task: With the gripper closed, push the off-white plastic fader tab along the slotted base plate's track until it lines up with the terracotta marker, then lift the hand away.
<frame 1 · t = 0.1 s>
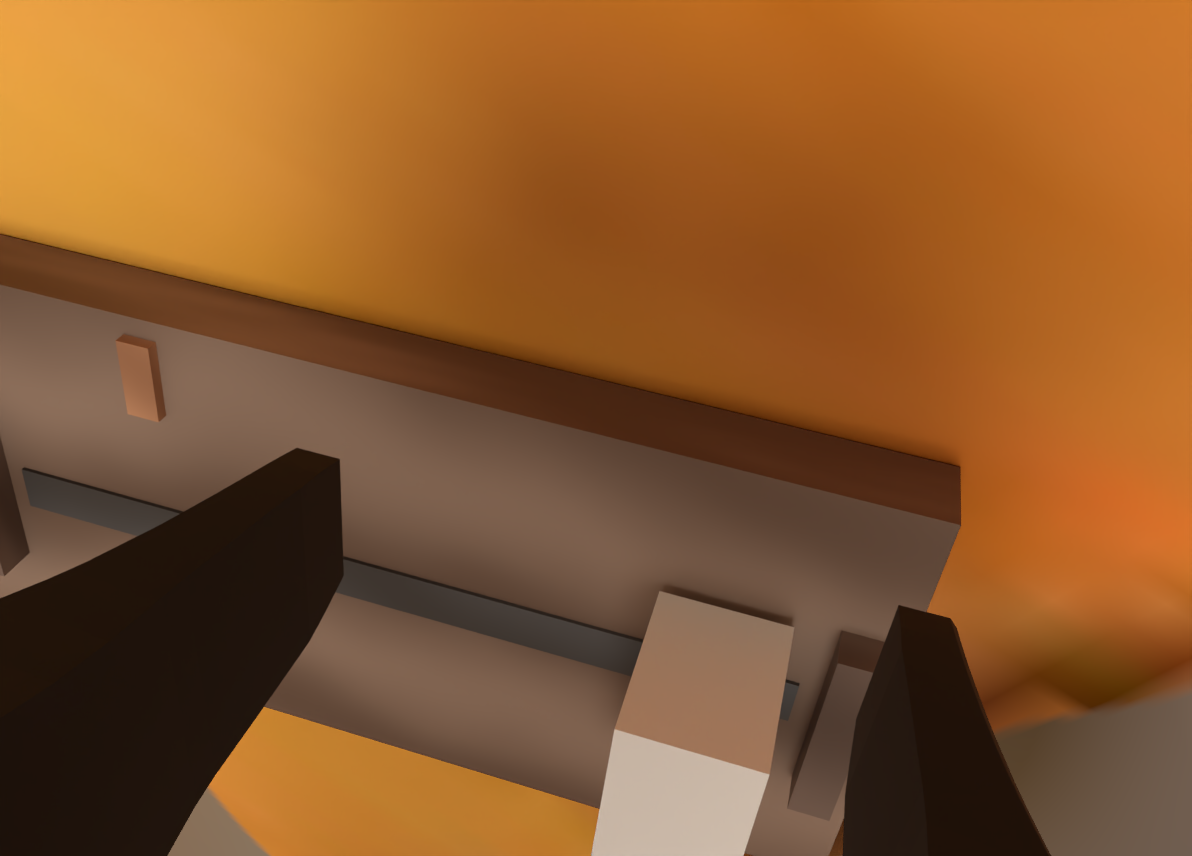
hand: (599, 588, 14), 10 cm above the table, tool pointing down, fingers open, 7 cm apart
fader tab: (690, 753, 24), point 4 cm above the table, slide at 0.0 cm
slotted base plate: (421, 536, 28), on the table
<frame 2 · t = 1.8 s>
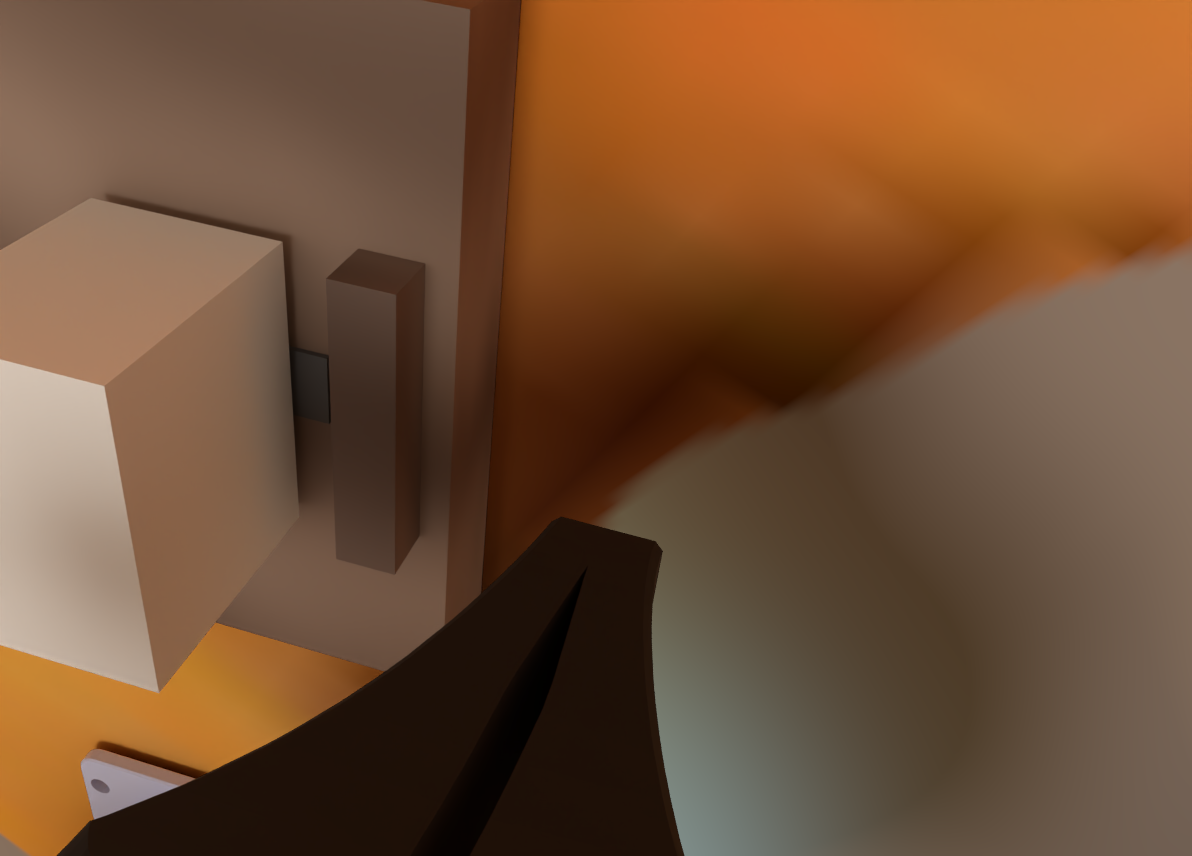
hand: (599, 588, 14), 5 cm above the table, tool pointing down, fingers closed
fader tab: (123, 438, 15), point 4 cm above the table, slide at 0.0 cm
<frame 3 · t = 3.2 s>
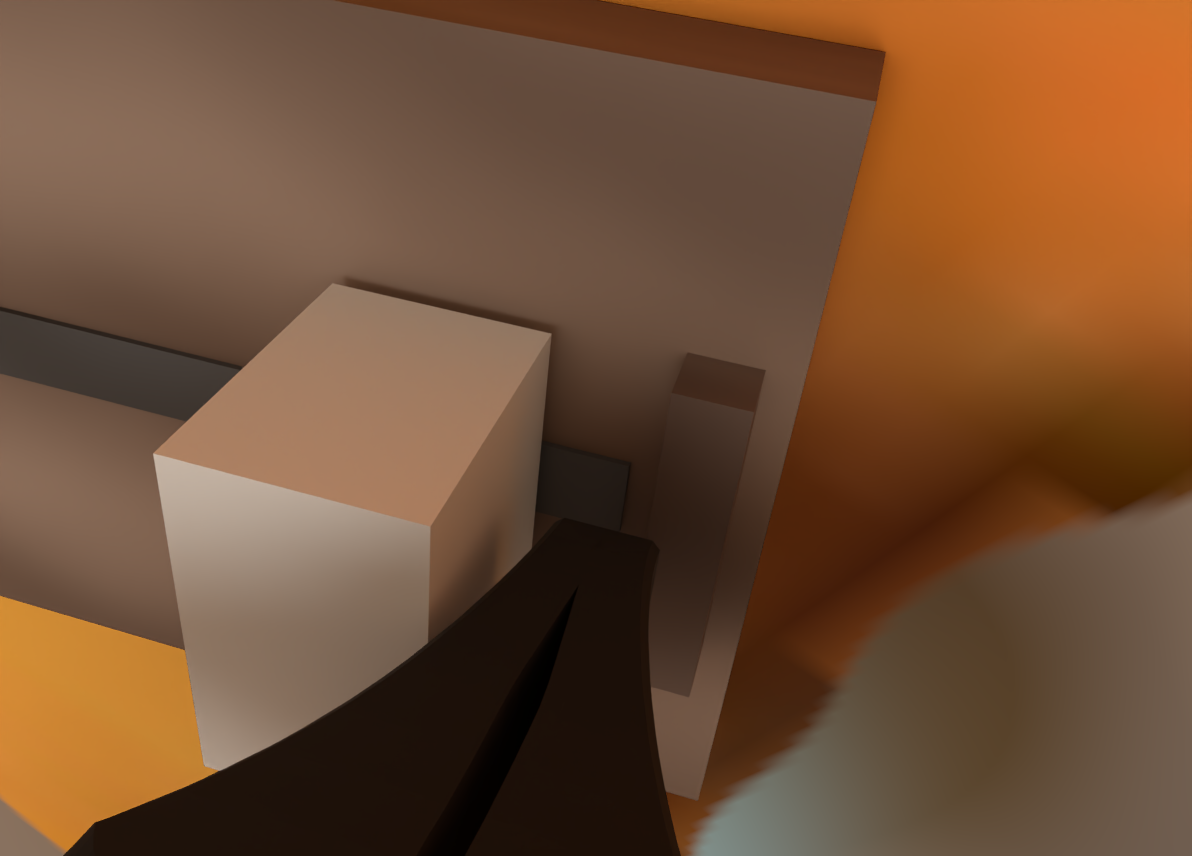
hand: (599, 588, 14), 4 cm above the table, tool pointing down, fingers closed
fader tab: (376, 550, 14), point 4 cm above the table, slide at 0.7 cm, touching gripper
slotted base plate: (83, 283, 18), on the table
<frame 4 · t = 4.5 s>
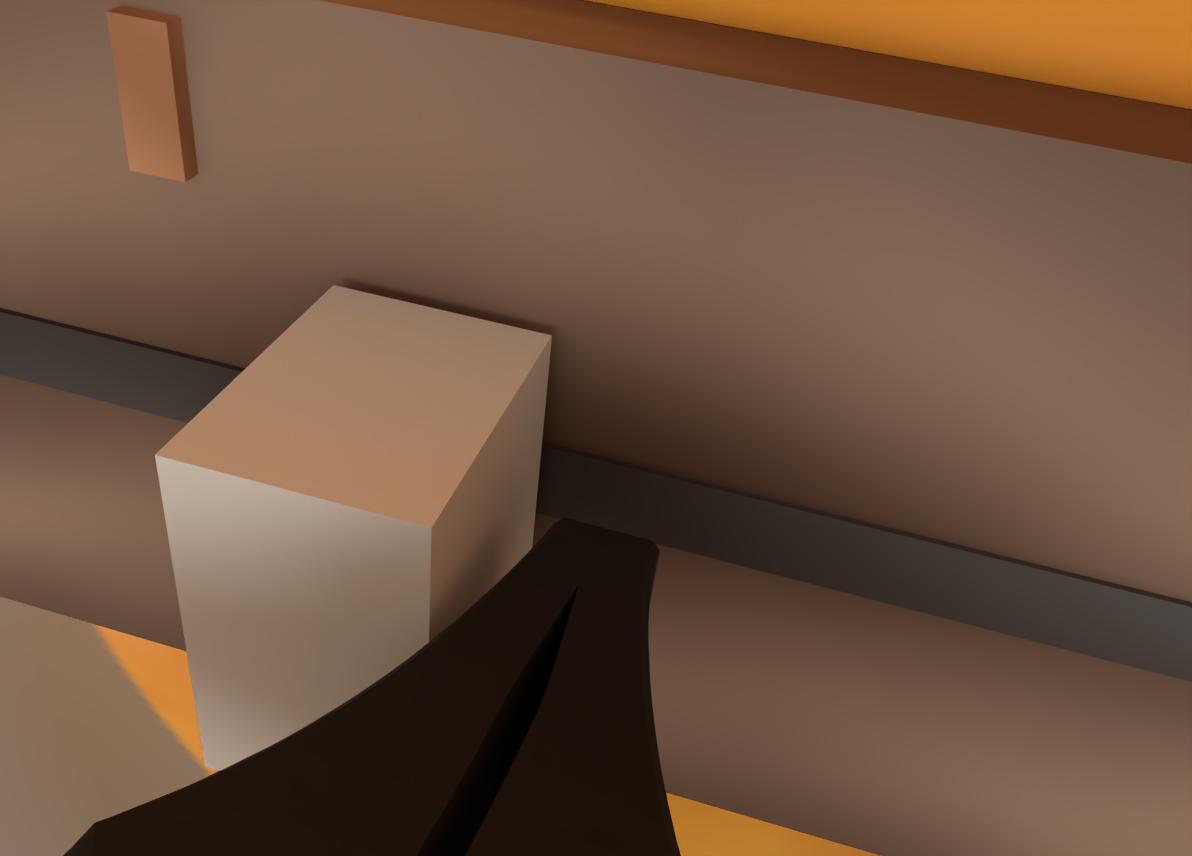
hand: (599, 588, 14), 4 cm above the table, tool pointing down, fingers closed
fader tab: (377, 552, 14), point 4 cm above the table, slide at 10.1 cm, touching gripper
slotted base plate: (617, 412, 17), on the table
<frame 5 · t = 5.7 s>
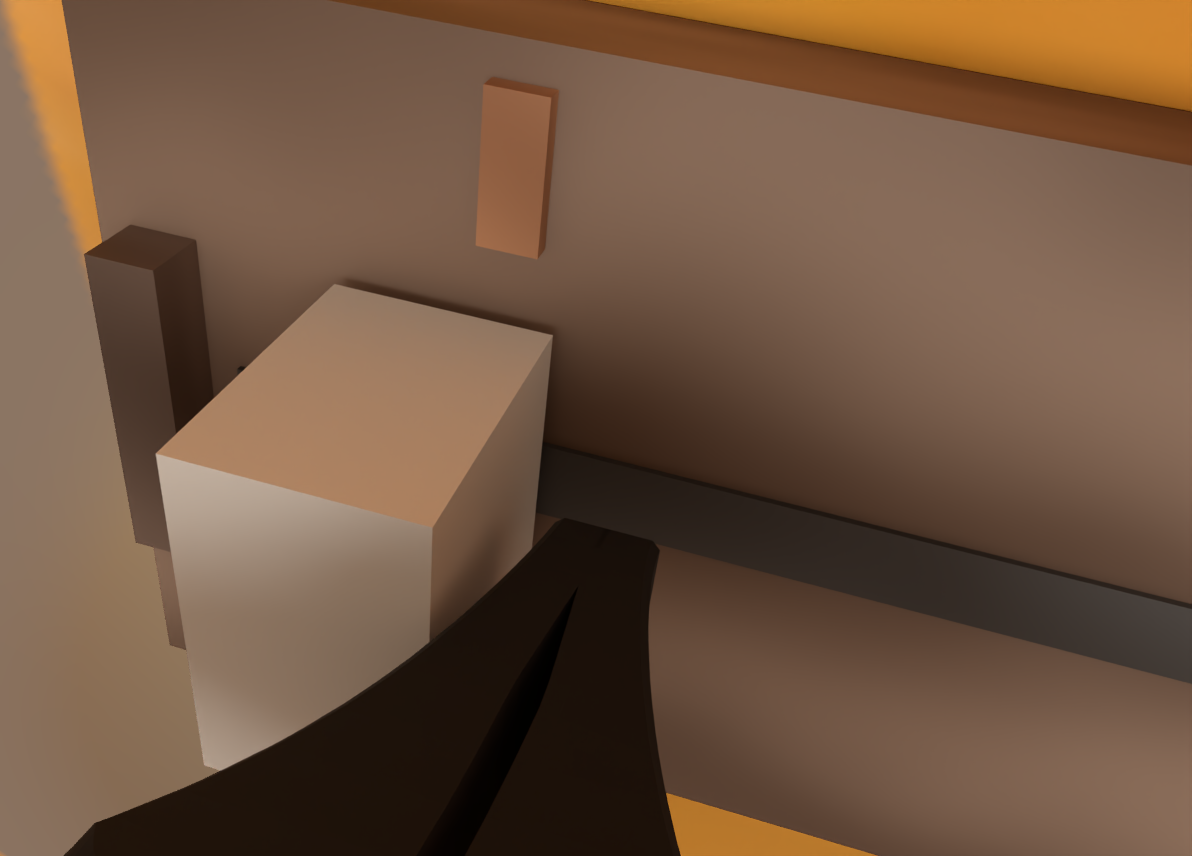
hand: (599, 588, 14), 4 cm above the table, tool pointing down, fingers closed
fader tab: (377, 551, 14), point 4 cm above the table, slide at 14.8 cm, touching gripper
slotted base plate: (923, 486, 16), on the table
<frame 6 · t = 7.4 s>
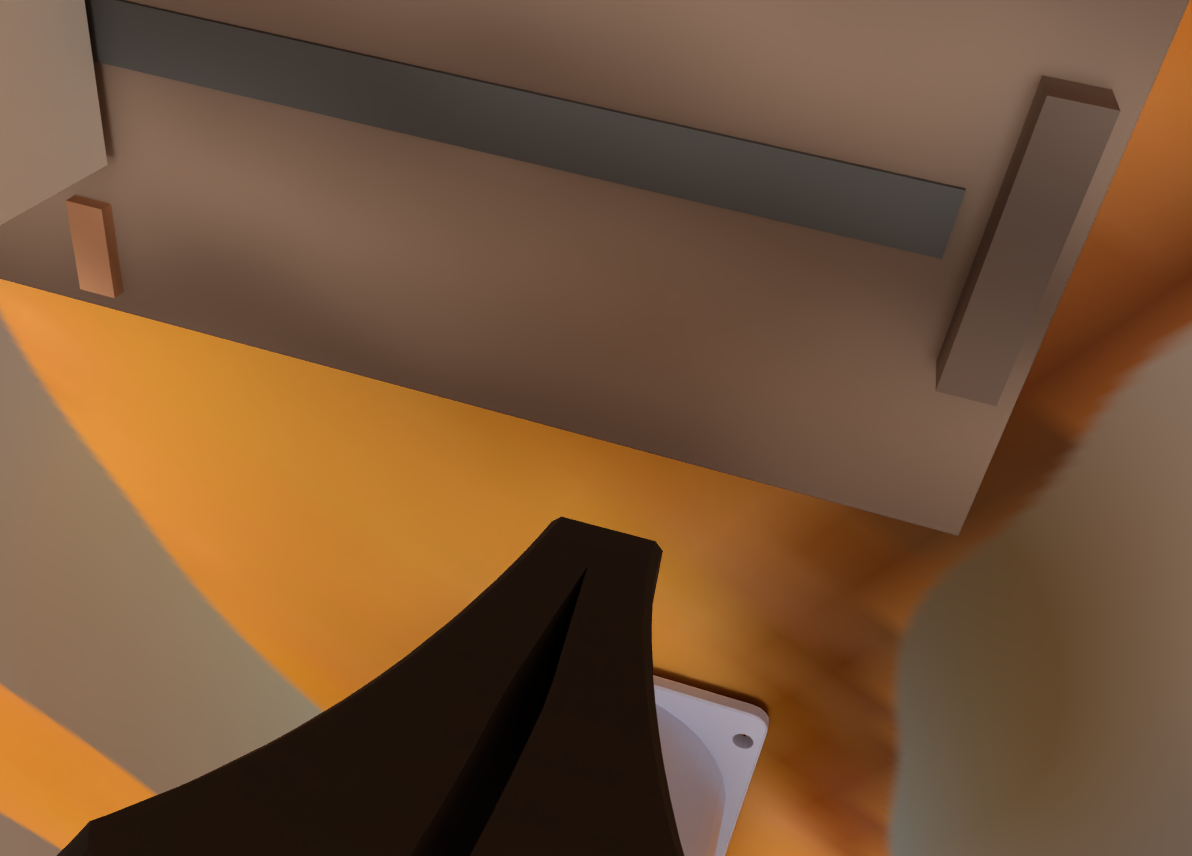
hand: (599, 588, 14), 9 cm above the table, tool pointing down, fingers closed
slotted base plate: (419, 59, 21), on the table
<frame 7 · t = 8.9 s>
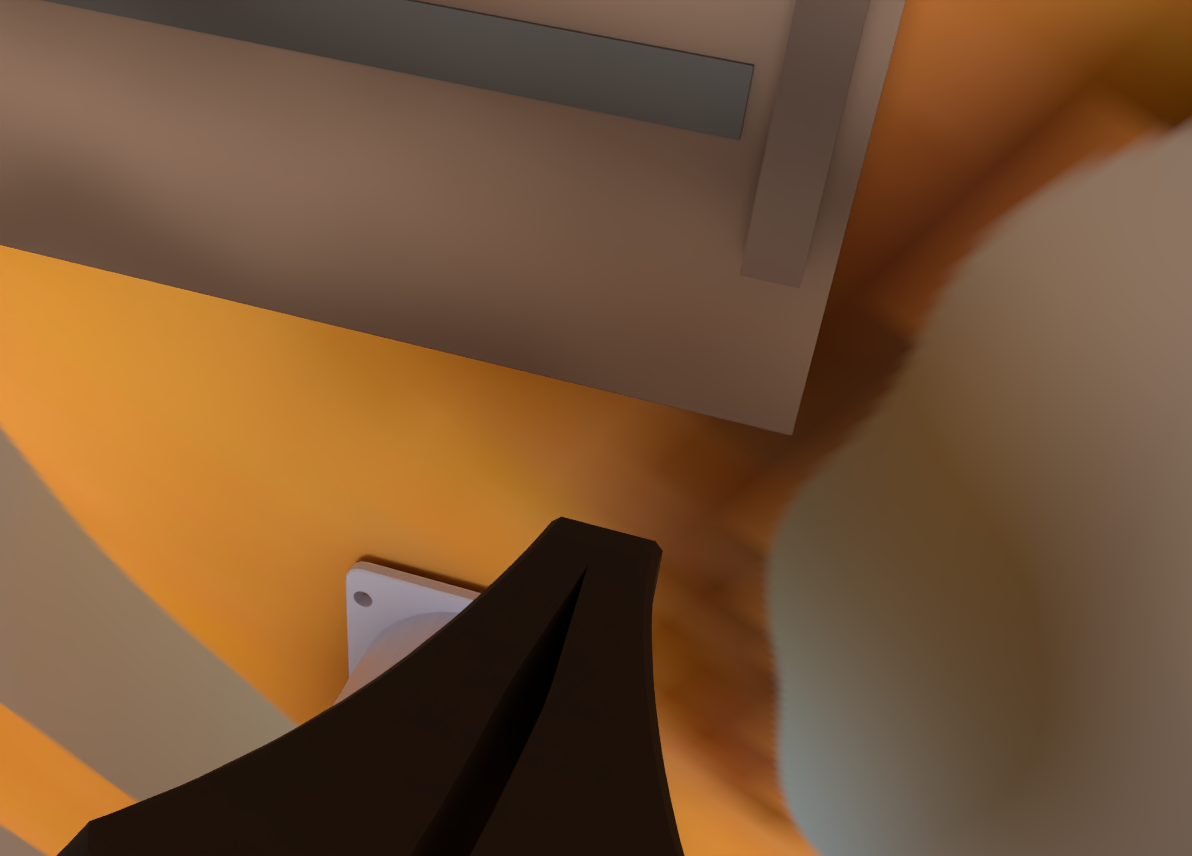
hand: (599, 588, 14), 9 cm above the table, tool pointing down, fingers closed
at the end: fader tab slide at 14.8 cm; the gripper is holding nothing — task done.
